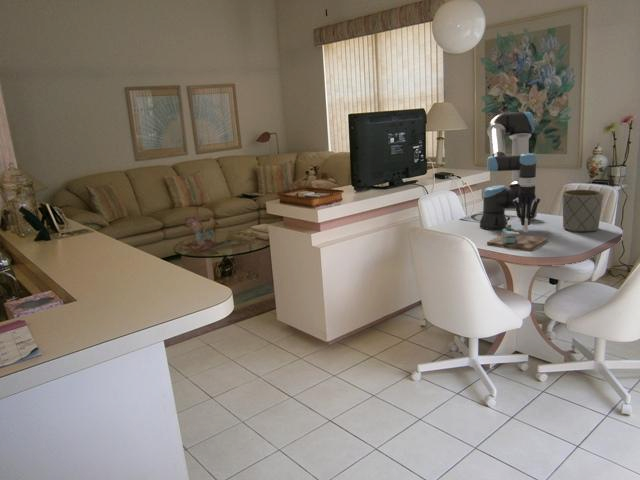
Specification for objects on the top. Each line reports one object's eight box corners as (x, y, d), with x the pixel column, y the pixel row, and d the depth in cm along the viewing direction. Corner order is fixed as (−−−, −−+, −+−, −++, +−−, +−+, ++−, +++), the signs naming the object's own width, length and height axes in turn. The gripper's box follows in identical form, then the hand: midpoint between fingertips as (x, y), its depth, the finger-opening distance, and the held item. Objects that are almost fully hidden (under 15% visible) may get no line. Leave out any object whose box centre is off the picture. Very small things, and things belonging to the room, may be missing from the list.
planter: (605, 233, 257) (608, 195, 252) (566, 233, 261) (568, 196, 256) (593, 224, 275) (596, 188, 270) (556, 225, 279) (558, 190, 274)
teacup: (534, 222, 289) (535, 208, 287) (515, 221, 295) (515, 207, 293) (538, 217, 301) (539, 204, 299) (519, 216, 306) (520, 203, 304)
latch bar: (502, 232, 264) (502, 228, 264) (513, 232, 263) (513, 228, 262) (505, 242, 246) (505, 237, 245) (517, 242, 244) (517, 237, 244)
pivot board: (487, 244, 252) (487, 231, 250) (505, 235, 266) (506, 223, 264) (530, 251, 236) (531, 237, 235) (547, 241, 251) (548, 228, 249)
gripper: (515, 187, 242) (514, 234, 248) (543, 185, 241) (541, 232, 247) (511, 184, 249) (509, 230, 256) (538, 183, 248) (535, 228, 254)
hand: (525, 231), depth 251 cm, fingers closed
